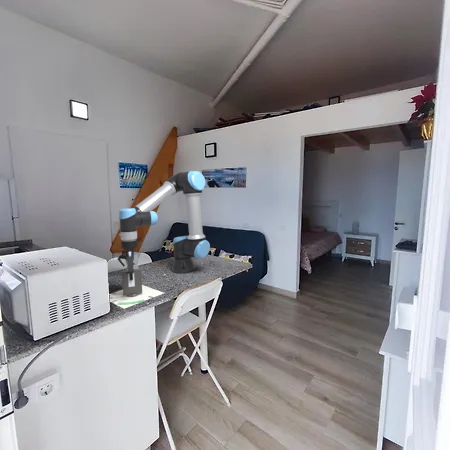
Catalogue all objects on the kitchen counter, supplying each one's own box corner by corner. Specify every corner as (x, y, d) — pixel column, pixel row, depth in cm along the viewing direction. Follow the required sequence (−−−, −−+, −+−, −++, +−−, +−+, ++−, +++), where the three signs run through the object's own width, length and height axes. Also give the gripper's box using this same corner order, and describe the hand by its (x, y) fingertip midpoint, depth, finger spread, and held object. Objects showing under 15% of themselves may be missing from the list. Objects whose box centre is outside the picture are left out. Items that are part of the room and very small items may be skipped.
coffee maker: (139, 271, 170) (138, 245, 167) (145, 274, 163) (143, 247, 161) (116, 277, 160) (114, 249, 158) (121, 280, 153) (119, 251, 151)
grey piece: (142, 290, 132) (140, 267, 130) (142, 295, 126) (141, 270, 125) (112, 295, 127) (110, 270, 125) (112, 299, 121) (110, 274, 120)
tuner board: (140, 286, 143) (140, 283, 143) (165, 295, 129) (164, 292, 129) (100, 299, 126) (100, 296, 126) (124, 311, 112) (124, 308, 112)
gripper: (121, 236, 134) (123, 275, 137) (120, 244, 111) (123, 291, 113) (136, 235, 137) (138, 274, 139) (138, 243, 114) (140, 289, 116)
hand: (131, 281), depth 126 cm, fingers open, 13 cm apart
